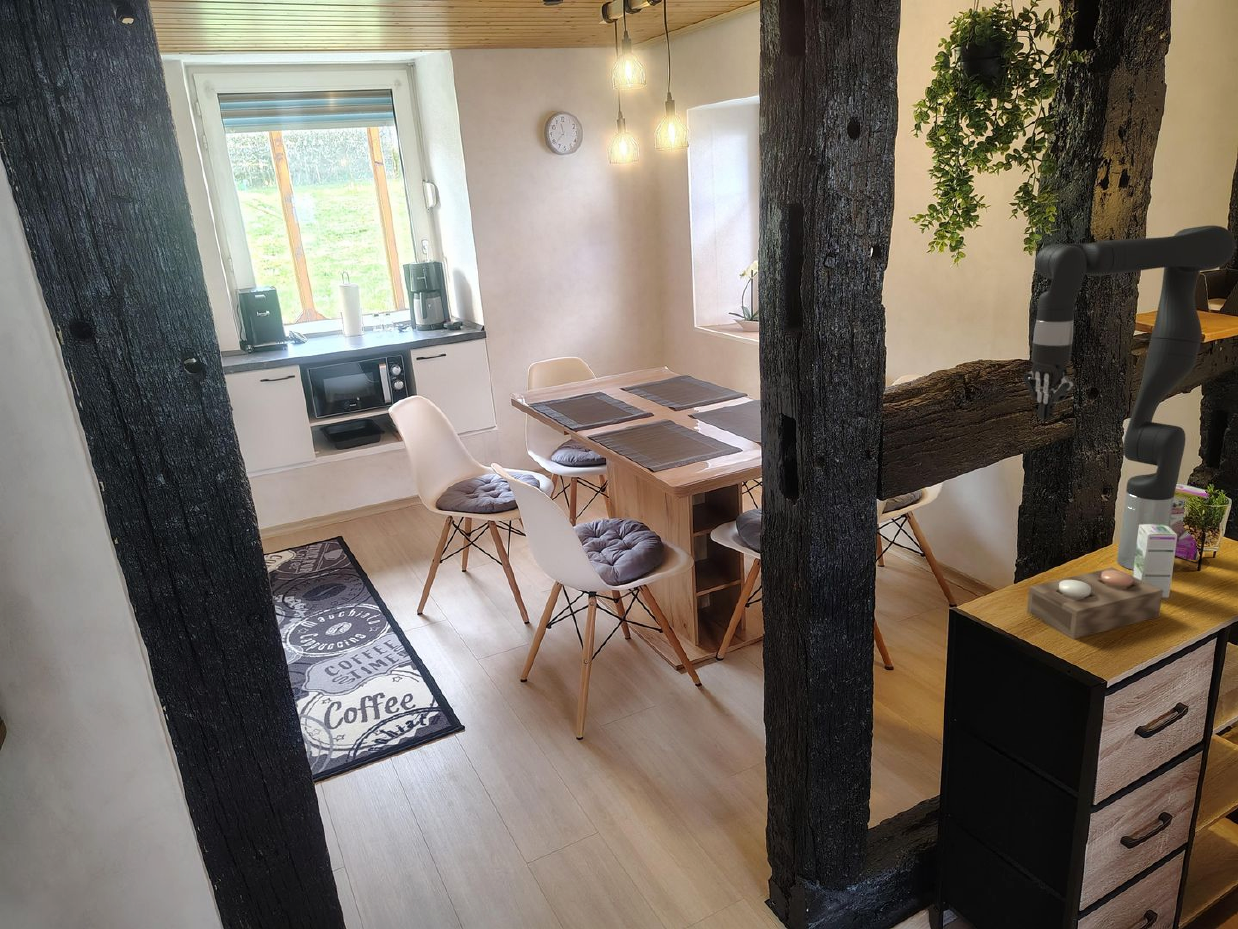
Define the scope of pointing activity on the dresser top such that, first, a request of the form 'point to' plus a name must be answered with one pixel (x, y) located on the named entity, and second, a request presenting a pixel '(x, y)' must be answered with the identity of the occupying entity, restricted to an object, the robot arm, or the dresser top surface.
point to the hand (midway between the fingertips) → (1044, 419)
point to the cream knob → (1074, 589)
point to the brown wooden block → (1094, 605)
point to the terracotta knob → (1116, 579)
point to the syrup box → (1155, 556)
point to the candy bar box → (1184, 539)
